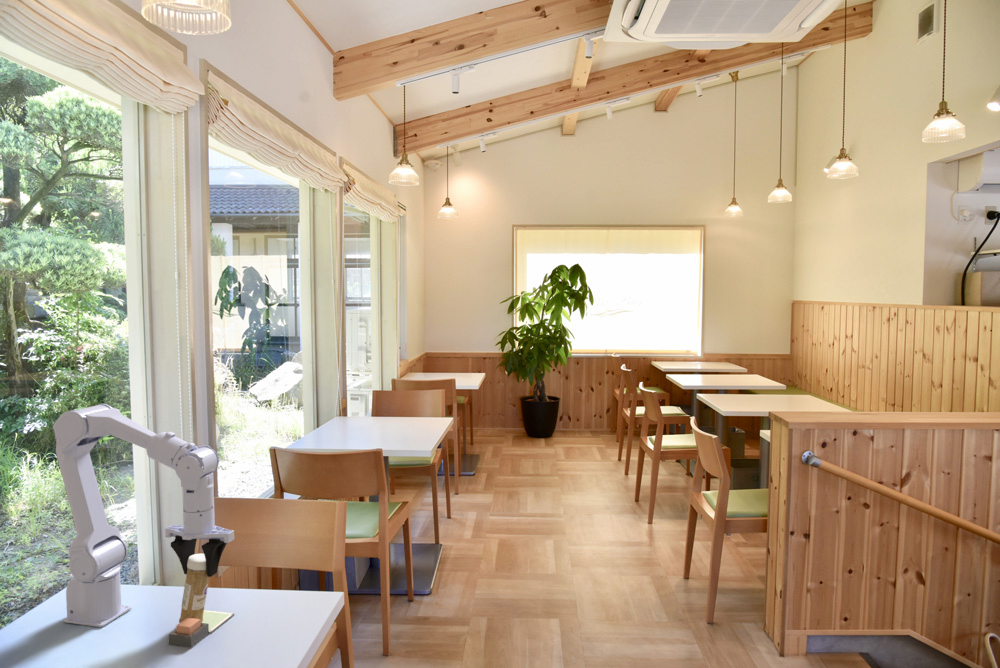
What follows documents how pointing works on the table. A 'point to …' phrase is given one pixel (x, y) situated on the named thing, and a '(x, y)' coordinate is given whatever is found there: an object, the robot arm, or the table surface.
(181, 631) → the button
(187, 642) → the button housing
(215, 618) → the picture board
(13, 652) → the table surface
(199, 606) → the sprinkles bottle
